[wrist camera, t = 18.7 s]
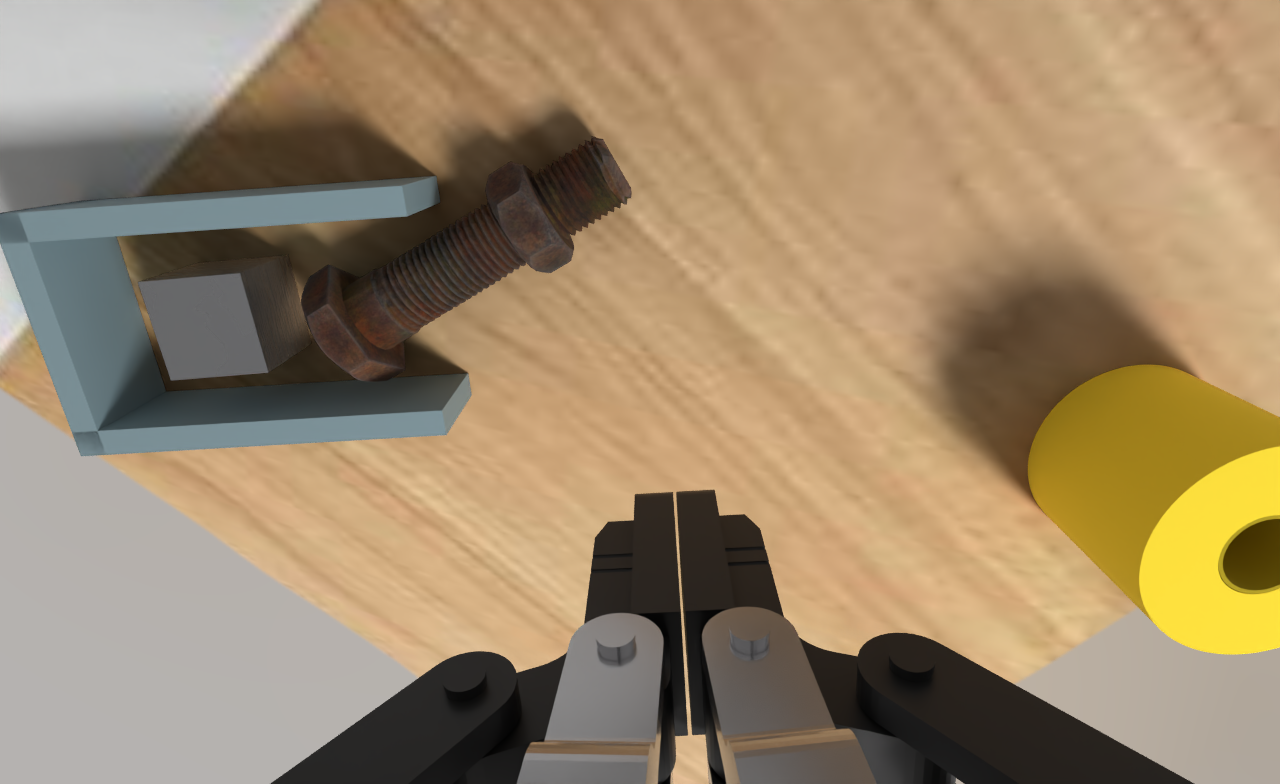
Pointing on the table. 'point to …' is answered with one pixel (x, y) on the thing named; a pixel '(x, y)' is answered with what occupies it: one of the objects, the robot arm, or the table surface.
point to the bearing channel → (122, 353)
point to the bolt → (461, 260)
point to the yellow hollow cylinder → (1171, 500)
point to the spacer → (226, 317)
